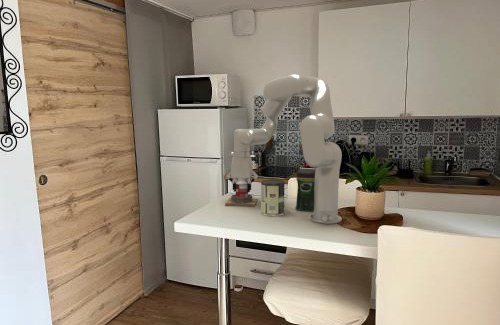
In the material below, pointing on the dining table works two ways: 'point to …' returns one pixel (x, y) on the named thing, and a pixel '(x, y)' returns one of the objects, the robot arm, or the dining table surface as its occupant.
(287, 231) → the dining table surface
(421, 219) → the dining table surface
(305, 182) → the coffee jar
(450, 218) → the dining table surface
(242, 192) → the pill bottle
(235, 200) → the dish on wooden board
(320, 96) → the robot arm
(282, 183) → the coffee can
